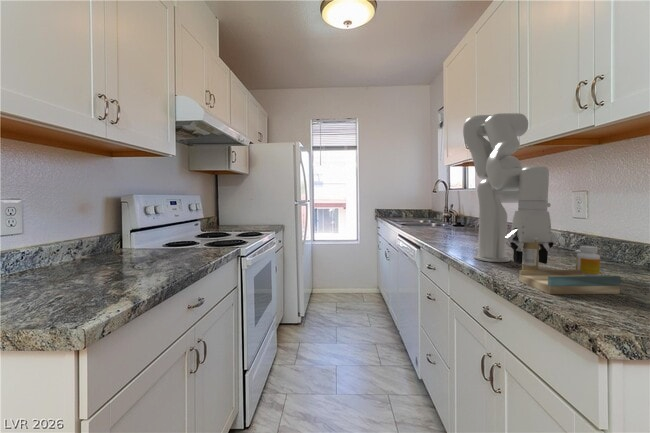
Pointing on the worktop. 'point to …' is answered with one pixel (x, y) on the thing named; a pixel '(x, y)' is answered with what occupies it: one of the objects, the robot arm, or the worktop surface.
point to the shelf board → (570, 282)
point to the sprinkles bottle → (530, 256)
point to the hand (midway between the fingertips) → (530, 262)
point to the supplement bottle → (588, 261)
